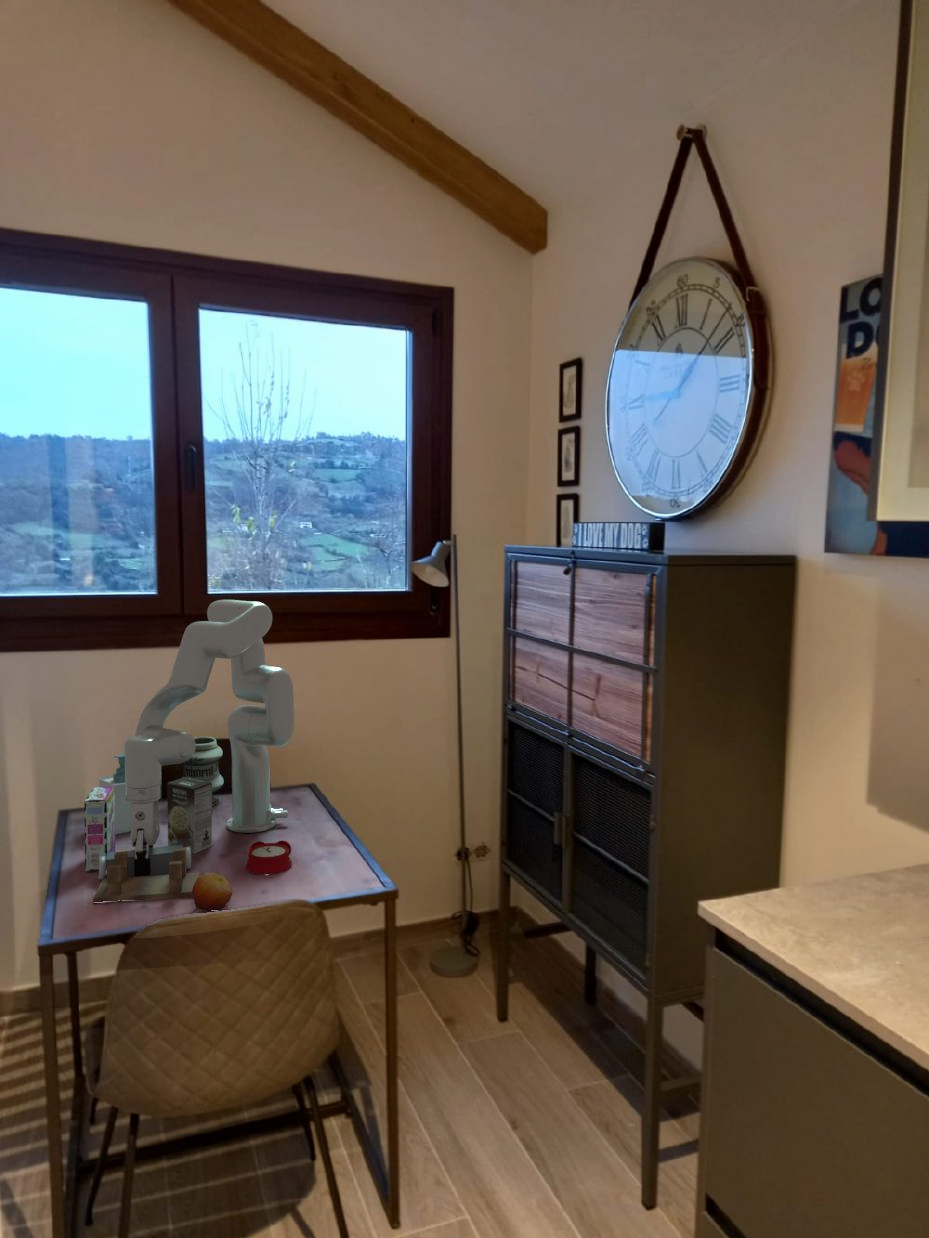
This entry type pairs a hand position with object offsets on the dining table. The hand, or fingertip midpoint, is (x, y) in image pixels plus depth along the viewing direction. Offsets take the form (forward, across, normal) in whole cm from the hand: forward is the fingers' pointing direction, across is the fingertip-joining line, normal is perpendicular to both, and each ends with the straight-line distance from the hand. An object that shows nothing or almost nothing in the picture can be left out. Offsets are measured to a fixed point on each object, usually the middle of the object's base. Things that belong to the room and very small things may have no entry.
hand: (144, 870), depth 191 cm
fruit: (+1, -21, -16) cm, 26 cm away
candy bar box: (+1, +8, +11) cm, 14 cm away
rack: (+1, -10, -2) cm, 10 cm away
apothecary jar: (+1, +50, -8) cm, 51 cm away
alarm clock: (+1, +1, -27) cm, 27 cm away
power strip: (+1, 0, 0) cm, 1 cm away
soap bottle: (+1, +32, +10) cm, 34 cm away
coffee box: (+1, +15, -8) cm, 17 cm away
